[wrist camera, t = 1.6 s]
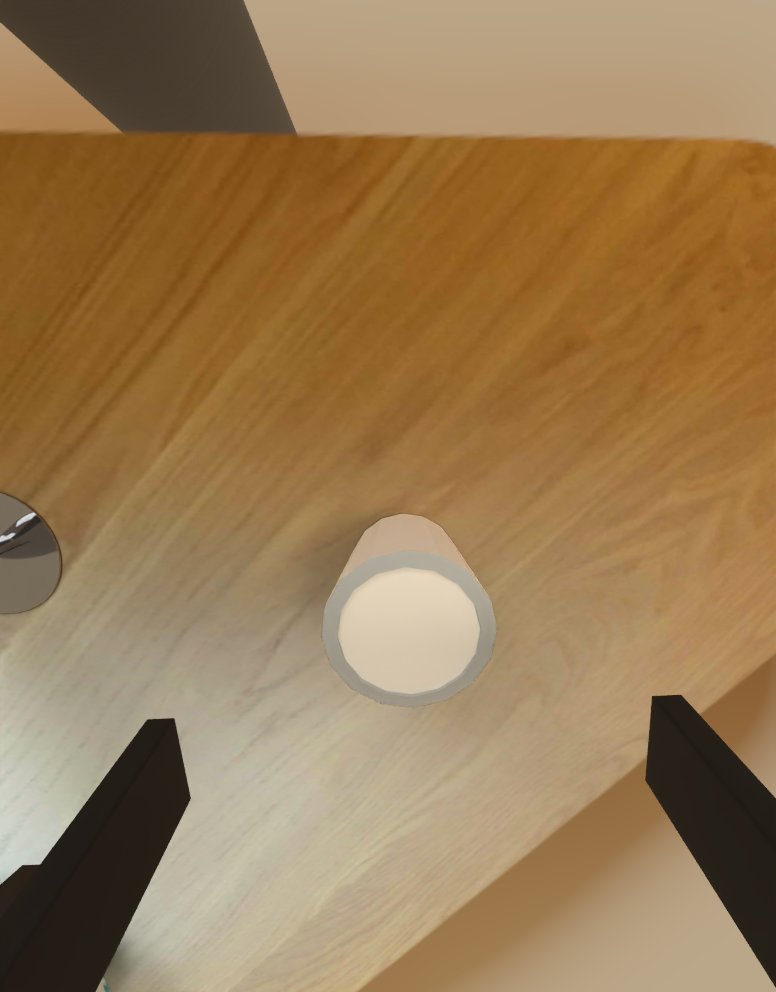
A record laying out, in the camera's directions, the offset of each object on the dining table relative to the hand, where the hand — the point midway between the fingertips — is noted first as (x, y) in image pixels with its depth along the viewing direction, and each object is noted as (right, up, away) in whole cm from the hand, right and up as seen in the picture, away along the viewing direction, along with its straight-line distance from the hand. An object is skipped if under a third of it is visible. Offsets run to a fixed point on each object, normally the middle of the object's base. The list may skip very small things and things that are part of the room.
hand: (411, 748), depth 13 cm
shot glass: (0, +3, +12) cm, 13 cm away
